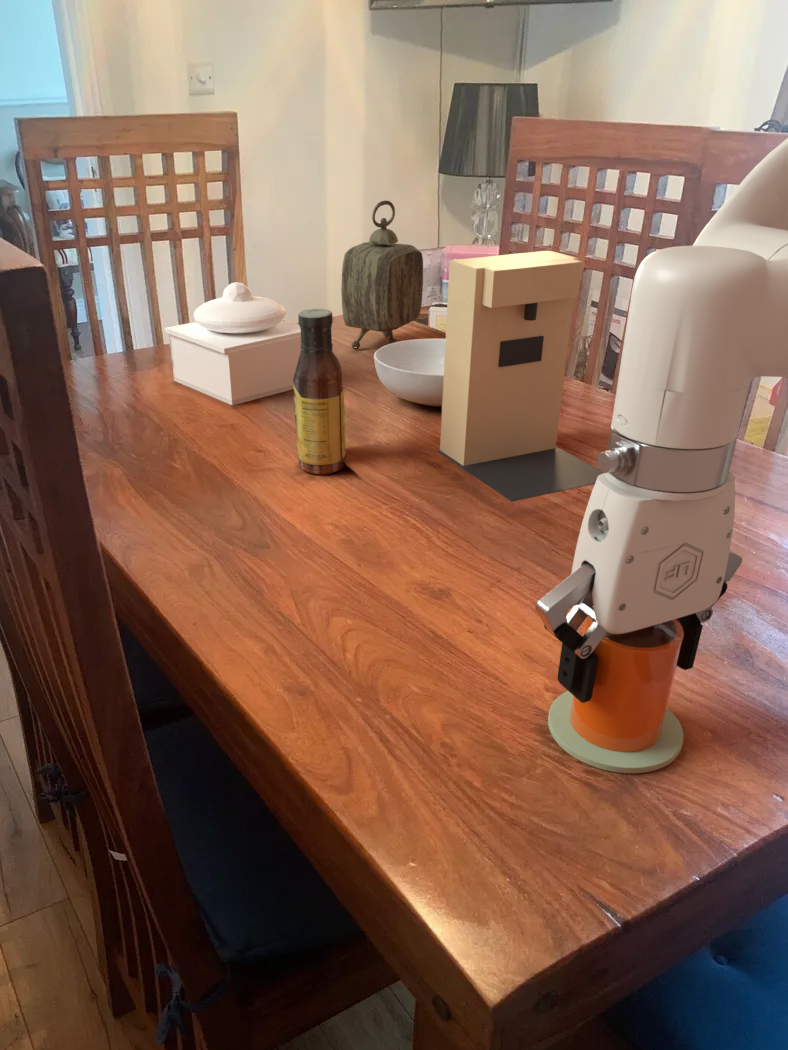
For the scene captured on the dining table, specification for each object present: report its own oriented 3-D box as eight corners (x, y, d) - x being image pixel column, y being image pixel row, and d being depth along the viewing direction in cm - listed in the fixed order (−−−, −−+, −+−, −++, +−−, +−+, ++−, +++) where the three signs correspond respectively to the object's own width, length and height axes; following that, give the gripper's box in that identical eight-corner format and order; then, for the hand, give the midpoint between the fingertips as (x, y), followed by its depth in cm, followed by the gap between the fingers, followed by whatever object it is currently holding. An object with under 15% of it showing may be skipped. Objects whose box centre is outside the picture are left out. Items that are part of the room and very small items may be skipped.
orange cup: (620, 687, 70) (639, 591, 66) (680, 737, 65) (705, 636, 60) (551, 709, 68) (565, 612, 63) (607, 762, 63) (627, 660, 58)
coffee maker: (435, 461, 114) (445, 260, 101) (531, 443, 119) (552, 250, 106) (510, 513, 100) (532, 288, 87) (614, 490, 105) (650, 274, 92)
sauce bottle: (316, 455, 116) (312, 302, 106) (355, 465, 113) (354, 308, 103) (286, 471, 111) (279, 313, 101) (325, 481, 108) (322, 320, 98)
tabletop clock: (384, 334, 170) (386, 195, 157) (423, 340, 166) (429, 198, 153) (341, 350, 160) (340, 204, 147) (382, 358, 156) (385, 207, 143)
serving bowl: (495, 426, 125) (499, 379, 121) (357, 413, 130) (357, 368, 127) (516, 384, 141) (520, 342, 138) (393, 374, 147) (394, 333, 144)
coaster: (622, 678, 72) (623, 672, 72) (711, 750, 64) (713, 744, 64) (522, 709, 69) (523, 703, 69) (603, 789, 61) (604, 783, 61)
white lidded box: (319, 382, 144) (316, 282, 135) (229, 406, 134) (220, 300, 126) (257, 360, 155) (251, 267, 147) (170, 381, 145) (159, 282, 137)
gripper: (594, 503, 49) (559, 737, 58) (815, 453, 55) (752, 673, 64) (519, 459, 55) (497, 677, 64) (726, 418, 61) (679, 623, 70)
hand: (625, 674), depth 64 cm, fingers open, 8 cm apart
